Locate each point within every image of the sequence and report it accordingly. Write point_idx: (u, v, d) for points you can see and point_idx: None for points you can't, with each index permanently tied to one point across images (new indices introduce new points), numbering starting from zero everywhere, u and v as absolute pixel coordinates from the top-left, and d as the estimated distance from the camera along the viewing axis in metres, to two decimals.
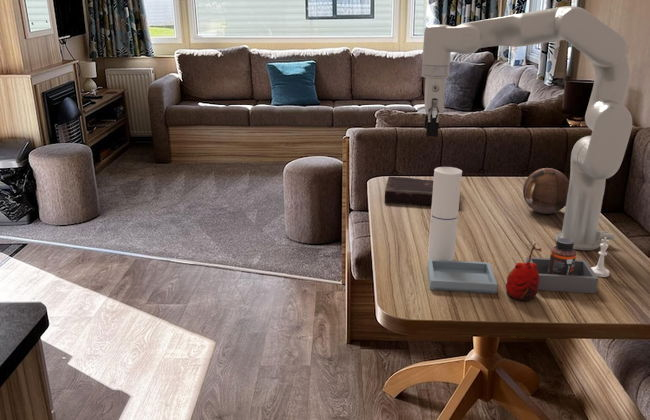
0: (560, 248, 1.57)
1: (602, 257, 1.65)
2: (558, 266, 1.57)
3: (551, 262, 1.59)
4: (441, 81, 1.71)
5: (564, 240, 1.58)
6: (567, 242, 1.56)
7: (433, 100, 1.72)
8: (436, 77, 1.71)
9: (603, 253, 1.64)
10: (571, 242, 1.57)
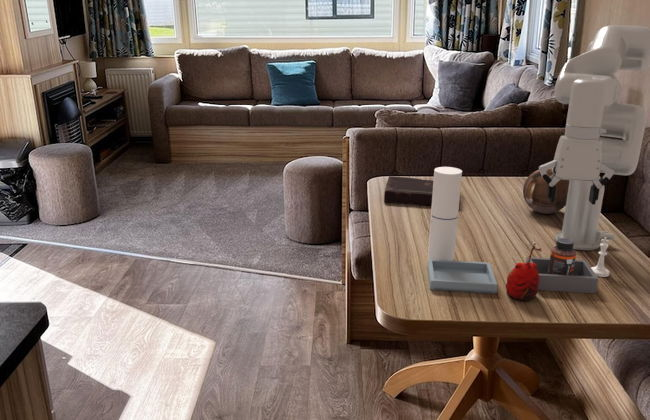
0: (560, 248, 1.57)
1: (602, 257, 1.65)
2: (558, 266, 1.57)
3: (551, 262, 1.59)
4: None
5: (564, 240, 1.58)
6: (567, 242, 1.56)
7: (601, 163, 1.50)
8: None
9: (603, 253, 1.64)
10: (571, 242, 1.57)
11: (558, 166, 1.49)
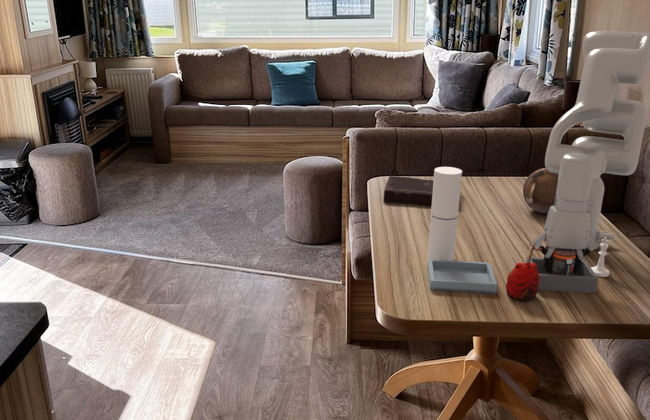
0: None
1: (602, 257, 1.65)
2: (558, 266, 1.57)
3: None
4: None
5: None
6: None
7: None
8: None
9: (603, 253, 1.64)
10: None
11: (548, 236, 1.56)
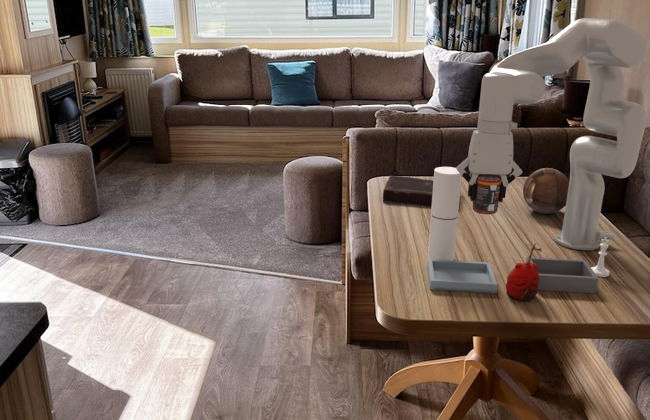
0: None
1: (602, 257, 1.65)
2: (482, 193, 1.51)
3: None
4: None
5: None
6: None
7: (512, 160, 1.50)
8: (509, 132, 1.48)
9: (603, 253, 1.64)
10: None
11: (471, 161, 1.49)
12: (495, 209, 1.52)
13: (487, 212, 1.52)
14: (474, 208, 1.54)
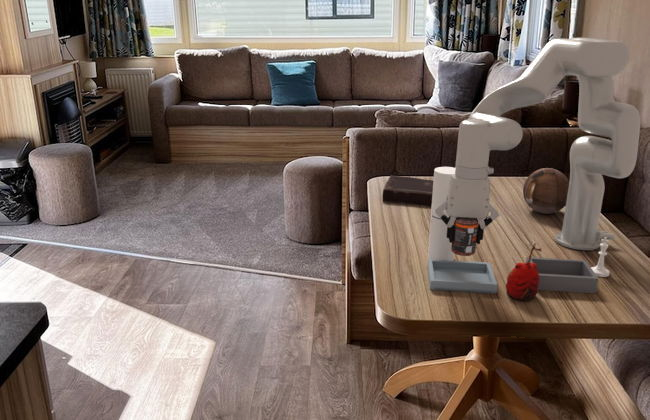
0: None
1: (602, 257, 1.65)
2: (459, 236, 1.54)
3: None
4: None
5: None
6: None
7: (489, 203, 1.53)
8: None
9: (603, 253, 1.64)
10: None
11: (448, 204, 1.53)
12: (473, 251, 1.56)
13: (465, 254, 1.55)
14: (452, 249, 1.57)
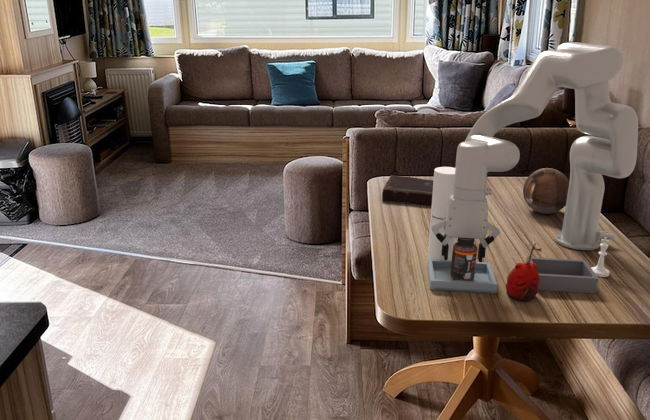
0: (460, 244, 1.56)
1: (602, 257, 1.65)
2: (458, 262, 1.57)
3: (453, 258, 1.59)
4: None
5: None
6: (467, 238, 1.56)
7: (488, 222, 1.55)
8: (484, 197, 1.53)
9: (603, 253, 1.64)
10: (471, 238, 1.56)
11: (447, 225, 1.55)
12: (471, 277, 1.58)
13: (464, 280, 1.58)
14: (451, 275, 1.60)
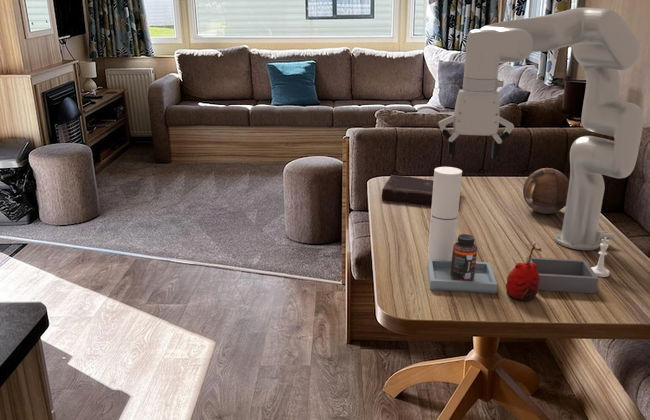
0: (460, 244, 1.57)
1: (602, 257, 1.65)
2: (458, 262, 1.57)
3: (453, 258, 1.59)
4: None
5: (465, 236, 1.57)
6: (467, 238, 1.56)
7: (500, 117, 1.46)
8: (495, 90, 1.45)
9: (603, 253, 1.64)
10: (471, 238, 1.56)
11: (456, 120, 1.46)
12: (471, 277, 1.58)
13: (464, 280, 1.58)
14: (451, 275, 1.60)
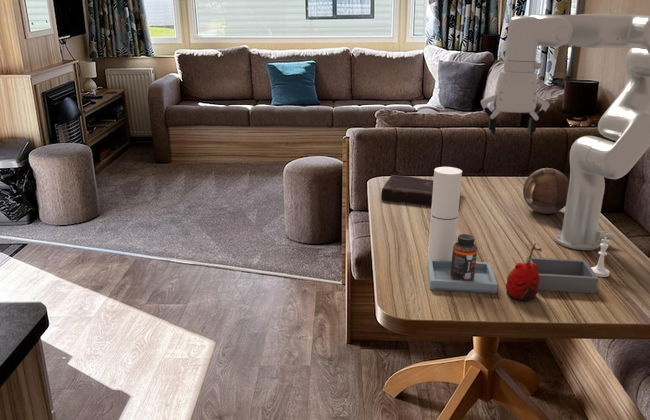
0: (460, 244, 1.57)
1: (602, 257, 1.65)
2: (458, 262, 1.57)
3: (453, 258, 1.59)
4: None
5: (465, 236, 1.57)
6: (467, 238, 1.56)
7: (537, 96, 1.62)
8: None
9: (603, 253, 1.64)
10: (471, 238, 1.56)
11: (497, 99, 1.61)
12: (471, 277, 1.58)
13: (464, 280, 1.58)
14: (451, 275, 1.60)
